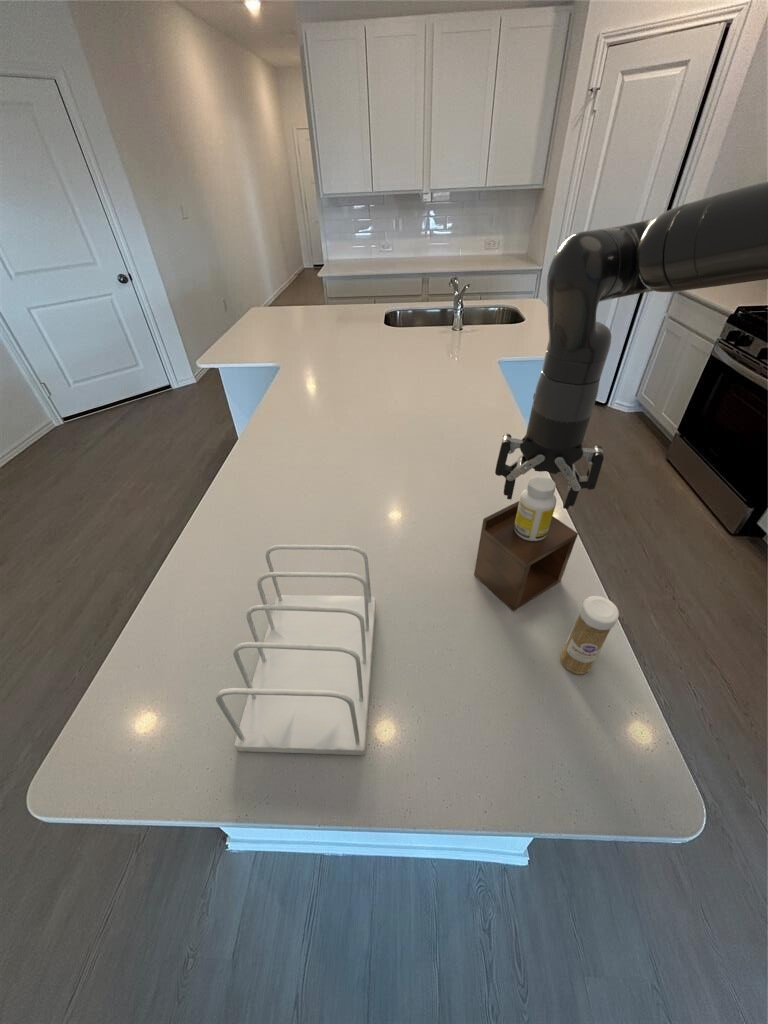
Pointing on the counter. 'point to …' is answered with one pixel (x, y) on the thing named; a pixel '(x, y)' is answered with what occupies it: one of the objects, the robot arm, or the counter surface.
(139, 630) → the counter surface
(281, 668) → the file sorter
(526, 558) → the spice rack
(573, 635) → the sprinkles bottle
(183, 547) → the counter surface
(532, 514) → the supplement bottle
